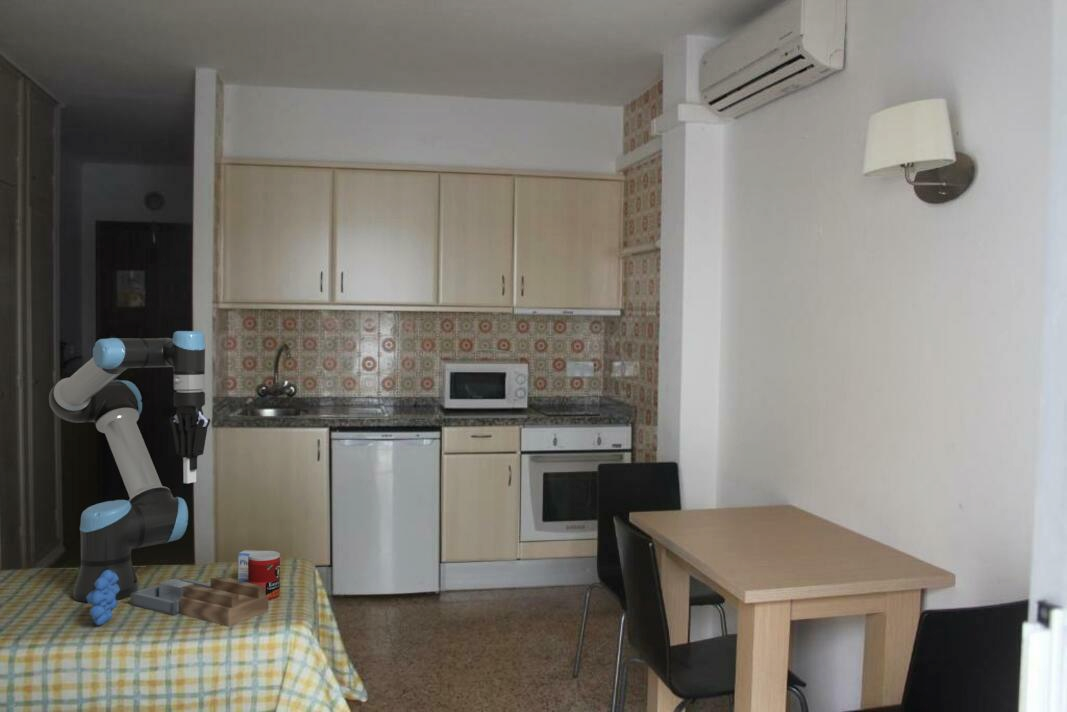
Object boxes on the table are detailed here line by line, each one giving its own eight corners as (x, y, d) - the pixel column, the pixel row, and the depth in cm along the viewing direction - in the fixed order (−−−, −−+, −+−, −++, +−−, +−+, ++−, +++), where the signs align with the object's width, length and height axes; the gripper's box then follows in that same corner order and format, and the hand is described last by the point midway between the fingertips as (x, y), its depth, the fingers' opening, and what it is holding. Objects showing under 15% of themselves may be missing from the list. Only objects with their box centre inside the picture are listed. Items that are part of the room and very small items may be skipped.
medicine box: (237, 584, 228) (237, 553, 228) (246, 580, 233) (246, 548, 232) (264, 587, 227) (263, 554, 226) (272, 582, 231) (272, 550, 231)
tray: (130, 604, 211) (130, 592, 211) (182, 589, 224) (182, 577, 224) (173, 615, 203) (173, 603, 203) (223, 598, 216) (223, 587, 216)
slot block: (179, 614, 204) (179, 587, 204) (220, 600, 215) (220, 575, 214) (228, 626, 196) (228, 598, 196) (268, 611, 206) (268, 585, 206)
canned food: (271, 602, 214) (270, 559, 213) (242, 600, 215) (242, 557, 215) (285, 593, 221) (285, 551, 221) (257, 591, 223) (257, 549, 222)
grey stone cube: (169, 601, 212) (159, 598, 214) (183, 596, 216) (172, 594, 218) (169, 585, 212) (159, 582, 214) (183, 581, 216) (172, 578, 218)
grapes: (97, 614, 204) (96, 564, 204) (126, 613, 204) (125, 564, 204) (74, 631, 192) (74, 578, 192) (105, 630, 193) (104, 578, 192)
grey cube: (169, 601, 212) (169, 585, 212) (183, 596, 216) (183, 581, 216) (180, 603, 210) (180, 587, 210) (193, 599, 214) (193, 583, 214)
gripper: (160, 390, 217) (160, 482, 218) (194, 392, 211) (194, 487, 211) (184, 389, 224) (185, 478, 224) (218, 391, 217) (219, 482, 218)
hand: (189, 482), depth 218 cm, fingers closed
